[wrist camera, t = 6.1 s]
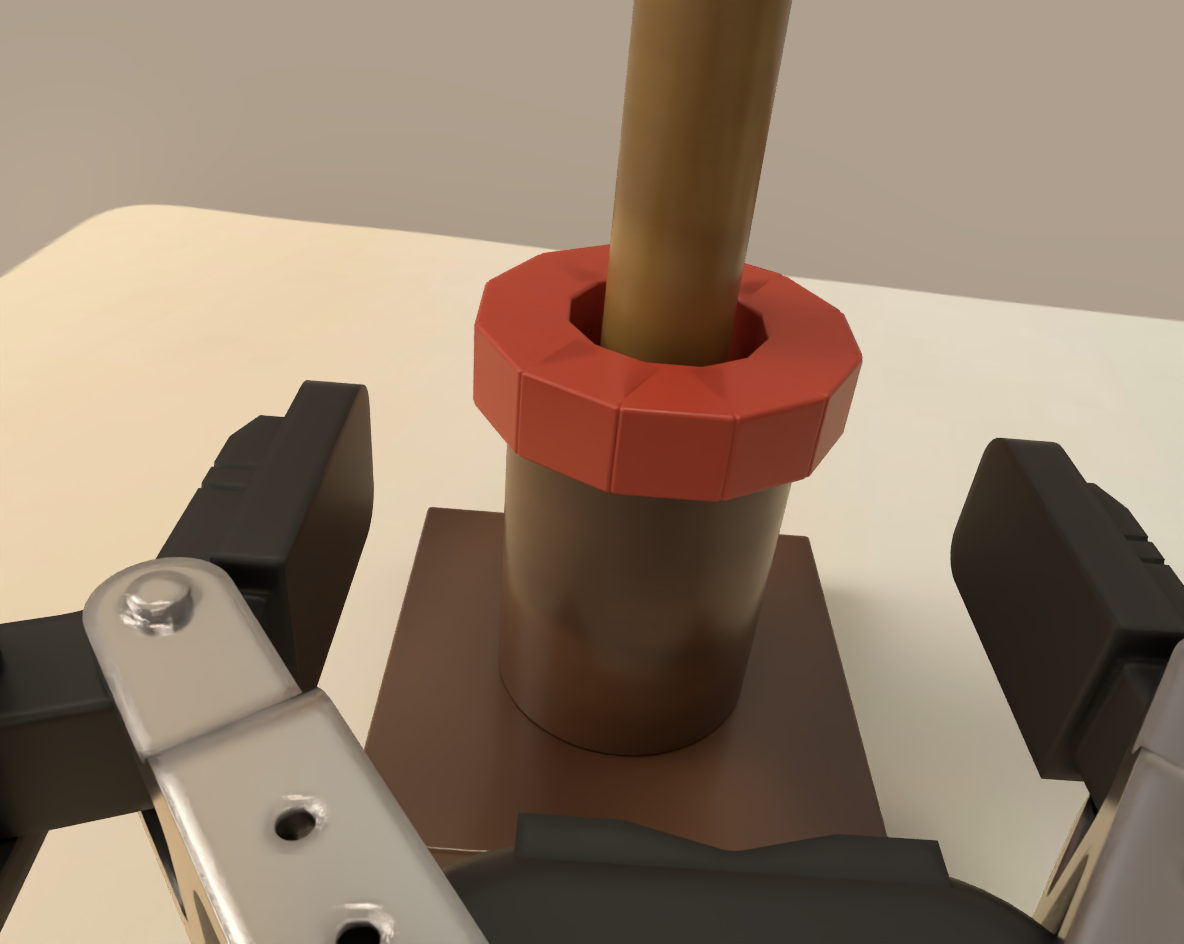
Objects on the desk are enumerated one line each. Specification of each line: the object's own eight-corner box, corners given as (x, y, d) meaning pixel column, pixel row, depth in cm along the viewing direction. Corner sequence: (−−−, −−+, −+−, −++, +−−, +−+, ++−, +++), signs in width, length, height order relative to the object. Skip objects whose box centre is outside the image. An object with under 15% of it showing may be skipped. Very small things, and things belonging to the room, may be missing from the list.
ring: (805, 330, 18) (821, 260, 17) (872, 517, 14) (899, 431, 13) (496, 303, 18) (499, 231, 17) (453, 483, 13) (454, 394, 13)
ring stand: (796, 583, 24) (987, -135, 15) (878, 934, 16) (1332, -78, 8) (428, 555, 24) (417, -193, 15) (343, 899, 16) (226, -188, 8)
